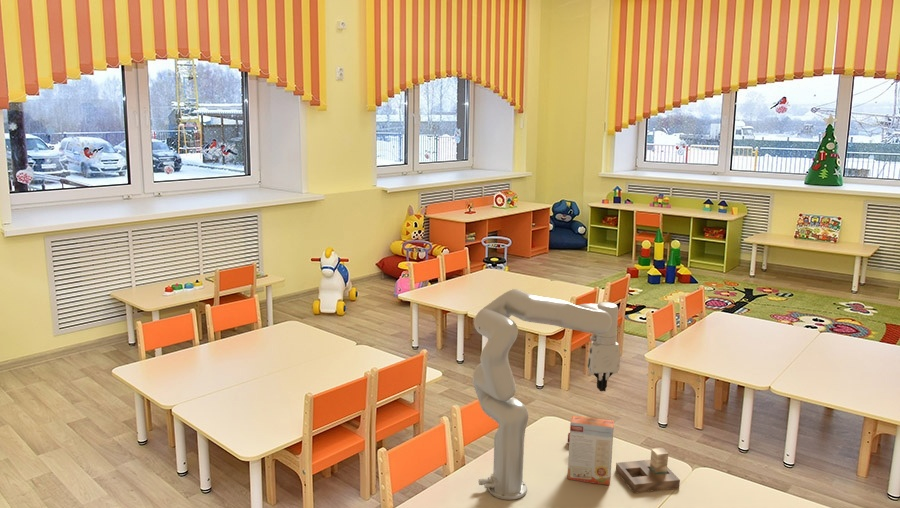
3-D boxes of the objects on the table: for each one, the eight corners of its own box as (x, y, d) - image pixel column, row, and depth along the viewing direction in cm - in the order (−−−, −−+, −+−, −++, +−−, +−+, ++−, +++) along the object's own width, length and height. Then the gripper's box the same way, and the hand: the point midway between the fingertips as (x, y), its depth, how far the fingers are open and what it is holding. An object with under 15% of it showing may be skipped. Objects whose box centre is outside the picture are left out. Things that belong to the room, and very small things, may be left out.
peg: (654, 482, 235) (657, 454, 233) (649, 475, 239) (651, 448, 237) (666, 480, 236) (668, 453, 234) (660, 474, 240) (662, 447, 238)
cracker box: (610, 477, 238) (614, 419, 233) (609, 486, 232) (613, 427, 228) (568, 470, 242) (572, 414, 237) (566, 479, 236) (570, 421, 231)
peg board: (634, 492, 229) (634, 484, 228) (615, 470, 242) (616, 462, 241) (679, 488, 232) (679, 479, 231) (658, 466, 245) (659, 458, 245)
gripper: (588, 344, 233) (585, 395, 237) (630, 341, 236) (626, 392, 240) (579, 336, 240) (576, 386, 244) (620, 334, 243) (617, 384, 247)
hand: (601, 389), depth 242 cm, fingers closed
